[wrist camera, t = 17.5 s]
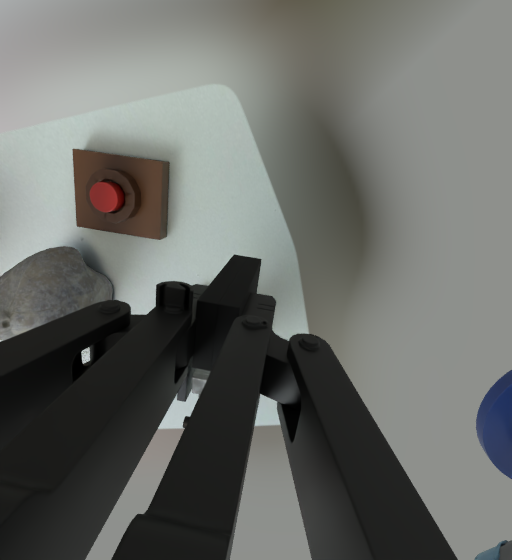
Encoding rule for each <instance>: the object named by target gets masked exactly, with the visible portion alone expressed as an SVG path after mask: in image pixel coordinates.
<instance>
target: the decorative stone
mask: <svg viewBox="0 0 512 560" xmlns="http://www.w3.org/2000/svg"><path fill="white" fill-rule="evenodd" d="M112 292H113V288H112V284H111V283H110V281H109V280H108V279H107V277H106V276H104V275H102V274H100V273H98V272H96V271H94V270H92V269H91V268H90V267H88V266H87V265H86V264H85V263H84V261H83V259H82V256H81V254H80V253H79V251H78V250H77V249H76V248H73V247H65V246H63V247H56V248H49V249H46V250H44V251H40V252H38V253H36V254H34V255H32V256H30V257H28V258H26V259H25V260H23V261H22V262H20V263H18V264H17V265H16V266H14V267H13V268H12V269H10V270H9V271H7V272H5V273H4V274H3V275H2V276H1V277H0V340H3V341H4V340H6V339H9V338H11V337H14V336H16V335H19V334H21V333H23V332H26V331H28V330H31V329H33V328H36V327H38V326H41V325H43V324H45V323H48V322H50V321H53V320H55V319H58V318H60V317H63V316H65V315H67V314H70V313H72V312H75V311H77V310H80V309H82V308H85V307H87V306H89V305H92V304H94V303H98V302H101V301H107V300H112Z"/></svg>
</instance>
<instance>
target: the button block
mask: <svg viewBox="0 0 512 560" xmlns="http://www.w3.org/2000/svg"><path fill="white" fill-rule="evenodd" d="M73 165H74V184H75V202H76V221H77V226H78V227H84V228H90V229H96V230H102V231H108V232H114V233H121V234H127V235H133V236H139V237H145V238H151V239H157V240H161V239H163V238H165V237H166V234H167V209H168V185H169V162H165V161H158V160H151V159H144V158H137V157H130V156H123V155H116V154H109V153H102V152H95V151H88V150H80V149H73ZM98 182H114V183H116V184H117V185H119V186H120V187H121V189H122V190H123V192H124V196H125V201H124V204H123V206H122V207H121V208H120V209H119V210H116V211H111V212H102V211H99V210H98V209H96V208H95V207H94V205H93V204H92V202H91V199H90V190H91V188H92V186H93V185H94V184H96V183H98Z"/></svg>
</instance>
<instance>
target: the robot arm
mask: <svg viewBox="0 0 512 560" xmlns="http://www.w3.org/2000/svg"><path fill="white" fill-rule="evenodd" d="M260 266H261V259H257V258H251V257H245V256H239V255H233V257H232V258H231V259H230V260H229V262H228V263H227V264H226V265H225V266H224V268H223V269H222V270H221V271H220V273H219V274H218V275H217V276H216V278H215V279H214V280H213V281H212V282H211V284H210V285H209V286H205V285H199V284H195V285H193V286H191V285H189V284H187V283H183V282H177V281H168V282H162V283H159V284H157V285H156V307H155V308H154V309H152V310H151V311H150V312H149V313H148V314H147V315H131V307H130V306H129V304H127V303H125V302H121V301H118V300H107V301H101V302H98V303H94V304H92V305H89V306H87V307H85V308H82V309H80V310H77V311H75V312H72V313H70V314H67V315H65V316H63V317H60V318H58V319H55V320H53V321H50V322H48V323H45V324H43V325H41V326H38V327H36V328H33V329H31V330H28V331H26V332H23V333H21V334H19V335H16V336H14V337H11V338H9V339H6V340H4V341H1V342H0V560H85V559H86V557H87V555H88V553H89V551H90V550H91V548H92V546H93V544H94V542H95V540H96V539H97V537H98V535H99V533H100V532H101V530H102V528H103V526H104V524H105V522H106V521H107V519H108V517H109V515H110V513H111V511H112V510H113V508H114V506H115V504H116V503H117V501H118V499H119V497H120V495H121V494H122V492H123V490H124V488H125V486H126V485H127V483H128V481H129V479H130V477H131V475H132V474H133V472H134V470H135V468H136V467H137V465H138V463H139V461H140V459H141V457H142V456H143V454H144V452H145V450H146V448H147V447H148V445H149V443H150V441H151V439H152V437H153V435H154V434H155V432H156V430H157V429H158V427H159V425H160V423H161V421H162V420H163V418H164V416H165V414H166V412H167V411H168V409H169V407H170V405H171V403H172V402H173V400H174V398H175V396H176V394H177V393H178V391H179V389H180V387H181V385H182V384H183V382H184V380H185V378H186V376H187V373H188V364H189V361H190V359H191V357H192V356H193V358H192V368H197V369H202V370H207V371H211V372H210V374H209V377H208V379H207V381H206V383H205V385H204V388H203V390H202V392H201V394H200V396H199V399H198V401H197V403H196V405H195V407H194V410H193V412H192V414H191V416H190V418H189V421H188V423H187V425H186V427H185V429H184V431H183V434H182V436H181V438H180V440H179V443H178V445H177V447H176V449H175V451H174V453H173V456H172V458H171V460H170V462H169V465H168V467H167V469H166V471H165V473H164V476H163V478H162V480H161V482H160V485H159V487H158V489H157V491H156V493H155V495H154V497H153V500H152V502H151V504H150V506H149V508H148V510H147V511H146V512H145V513H144V514H137V515H136V516H135V518H134V519H133V520H132V521H131V523H130V525H129V526H128V528H127V530H126V532H125V533H124V535H123V537H122V539H121V542H120V543H119V545H118V547H117V549H116V551H115V553H114V555H113V557H112V559H111V560H230V555H231V549H232V544H233V538H234V533H235V527H236V522H237V516H238V511H239V506H240V500H241V495H242V489H243V484H244V478H245V473H246V468H247V462H248V457H249V451H250V446H251V441H252V435H253V430H254V424H255V419H256V414H257V408H258V404H259V398H260V394H262V395H264V396H266V397H269V398H271V399H273V400H275V401H277V402H278V403H277V411H278V415H279V420H280V424H281V428H282V432H283V437H284V441H285V445H286V450H287V454H288V458H289V463H290V467H291V471H292V475H293V480H294V484H295V489H296V493H297V497H298V501H299V506H300V510H301V514H302V519H303V523H304V527H305V531H306V536H307V540H308V545H309V549H310V553H311V558H312V560H458V559H457V557H456V556H455V554H454V552H453V551H452V549H451V548H450V546H449V544H448V543H447V541H446V539H445V538H444V536H443V534H442V532H441V531H440V529H439V527H438V526H437V524H436V523H435V521H434V519H433V518H432V516H431V514H430V513H429V511H428V509H427V507H426V506H425V504H424V502H423V501H422V499H421V497H420V496H419V494H418V492H417V491H416V489H415V487H414V486H413V484H412V482H411V481H410V479H409V477H408V476H407V474H406V472H405V471H404V469H403V467H402V466H401V464H400V462H399V461H398V459H397V458H396V456H395V454H394V452H393V451H392V449H391V447H390V446H389V444H388V442H387V441H386V439H385V437H384V436H383V434H382V432H381V431H380V429H379V427H378V426H377V424H376V422H375V421H374V419H373V417H372V416H371V414H370V412H369V411H368V409H367V407H366V406H365V404H364V402H363V401H362V399H361V397H360V396H359V394H358V392H357V391H356V389H355V387H354V386H353V384H352V382H351V381H350V379H349V377H348V376H347V374H346V372H345V371H344V369H343V367H342V365H341V364H340V362H339V360H338V359H337V357H336V356H335V354H334V352H333V351H332V349H331V347H330V345H329V344H328V343H327V342H326V341H325V340H323V339H321V338H320V337H318V336H316V335H315V336H314V335H312V334H296V335H293V336H292V337H291V338H290V340H289V341H287V340H285V339H283V338H280V337H279V336H277V335H276V334H275V333H274V332H273V330H272V324H273V318H274V312H275V306H276V300H275V299H274V298H273V296H267V295H262V294H257V287H258V280H259V273H260ZM88 347H90V361H88V362H87V363H84V364H83V363H82V355H81V351H82V350H84V349H86V348H88ZM475 560H512V541H509V542H508V541H506V540H505V541H502V542H500V543H499V544H498V545H497V546H496V547H494V548H491V549H489V550H486V551H484V552H482V553H480V554H478V555H477V556H476V558H475Z"/></svg>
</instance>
